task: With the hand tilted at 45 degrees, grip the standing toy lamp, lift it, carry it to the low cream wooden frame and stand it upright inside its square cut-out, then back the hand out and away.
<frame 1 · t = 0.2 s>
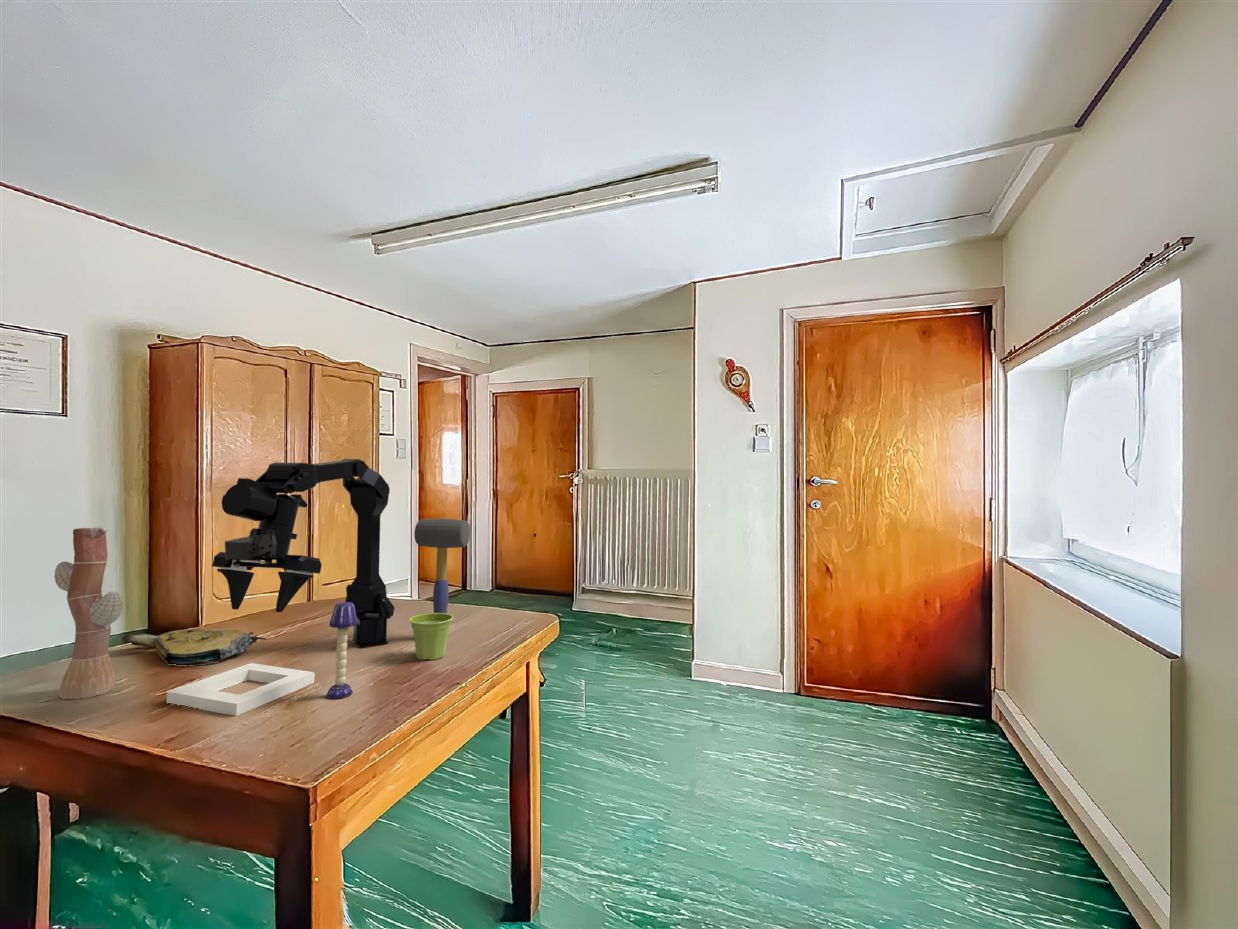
hand: (256, 610, 101), 15 cm above the table, tool pointing down, fingers open, 9 cm apart
plant pot: (430, 657, 125), on the table
vase: (83, 692, 101), on the table
toy lamp: (341, 695, 102), on the table
rubber mallet: (439, 638, 139), on the table
cutout frame: (244, 692, 102), on the table
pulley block: (186, 656, 123), on the table
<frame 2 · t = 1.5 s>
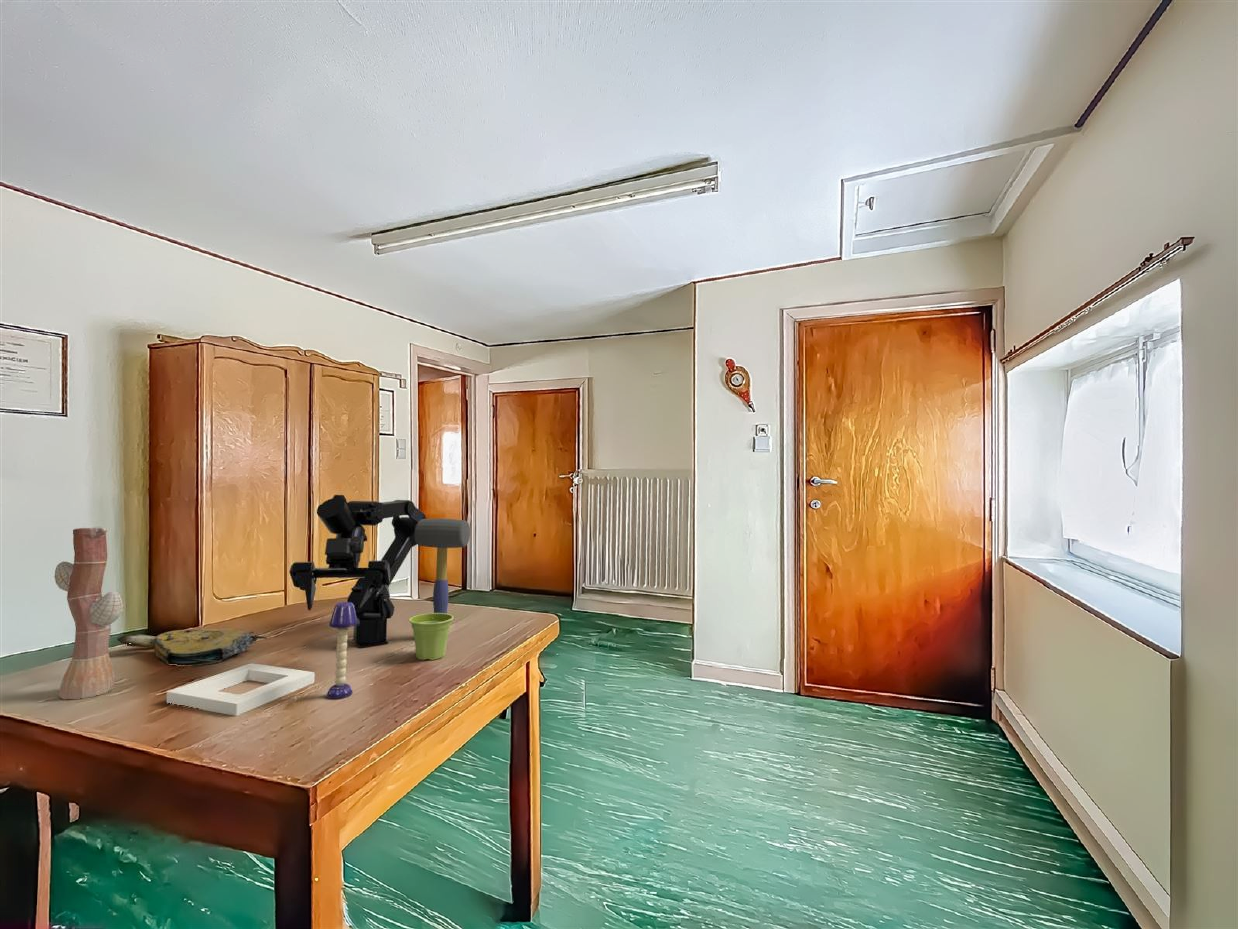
hand: (334, 608, 112), 14 cm above the table, tool tilted 45°, fingers open, 9 cm apart
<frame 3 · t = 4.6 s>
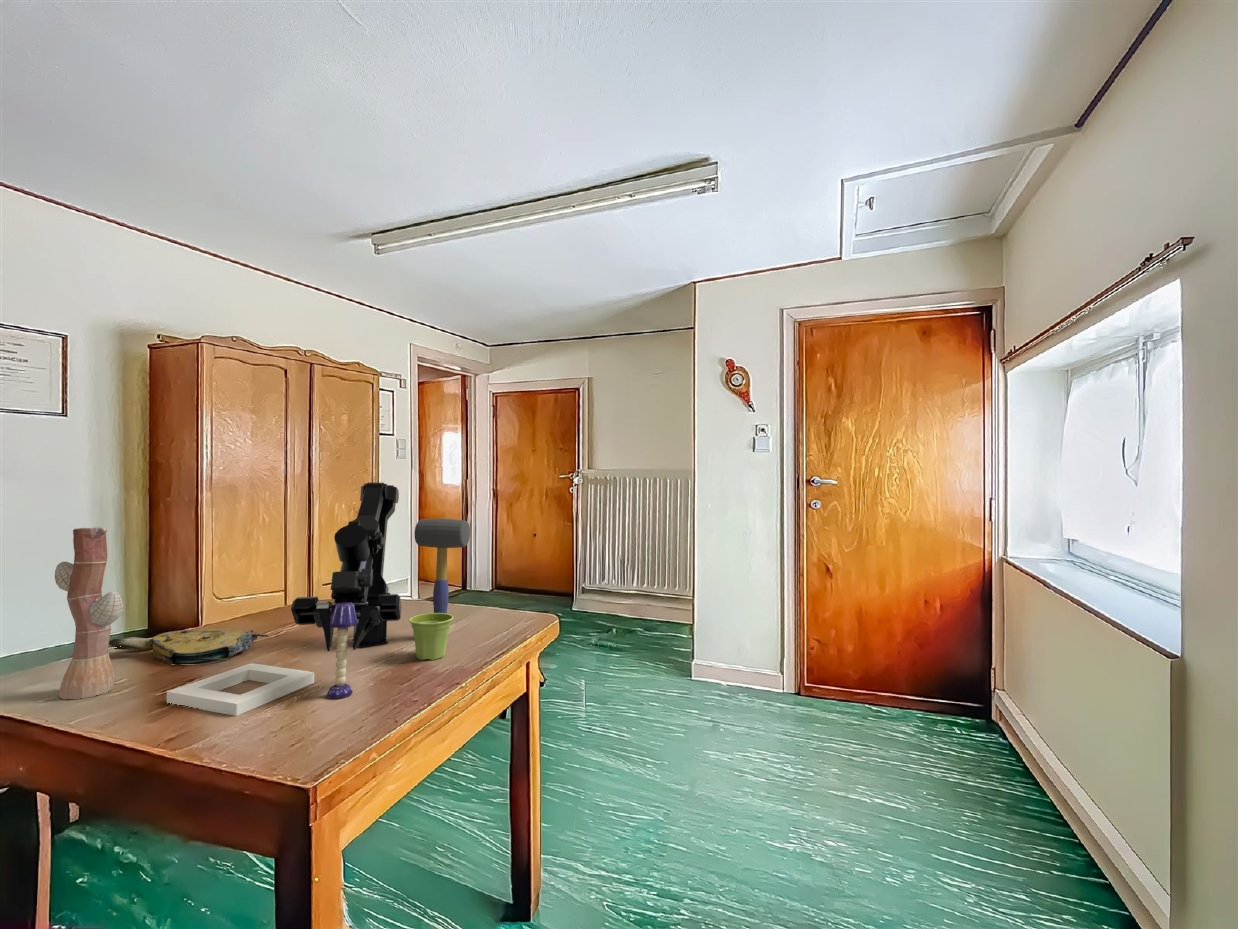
hand: (341, 649, 101), 9 cm above the table, tool tilted 45°, fingers closed on toy lamp, 4 cm apart
toy lamp: (341, 695, 102), on the table, touching gripper
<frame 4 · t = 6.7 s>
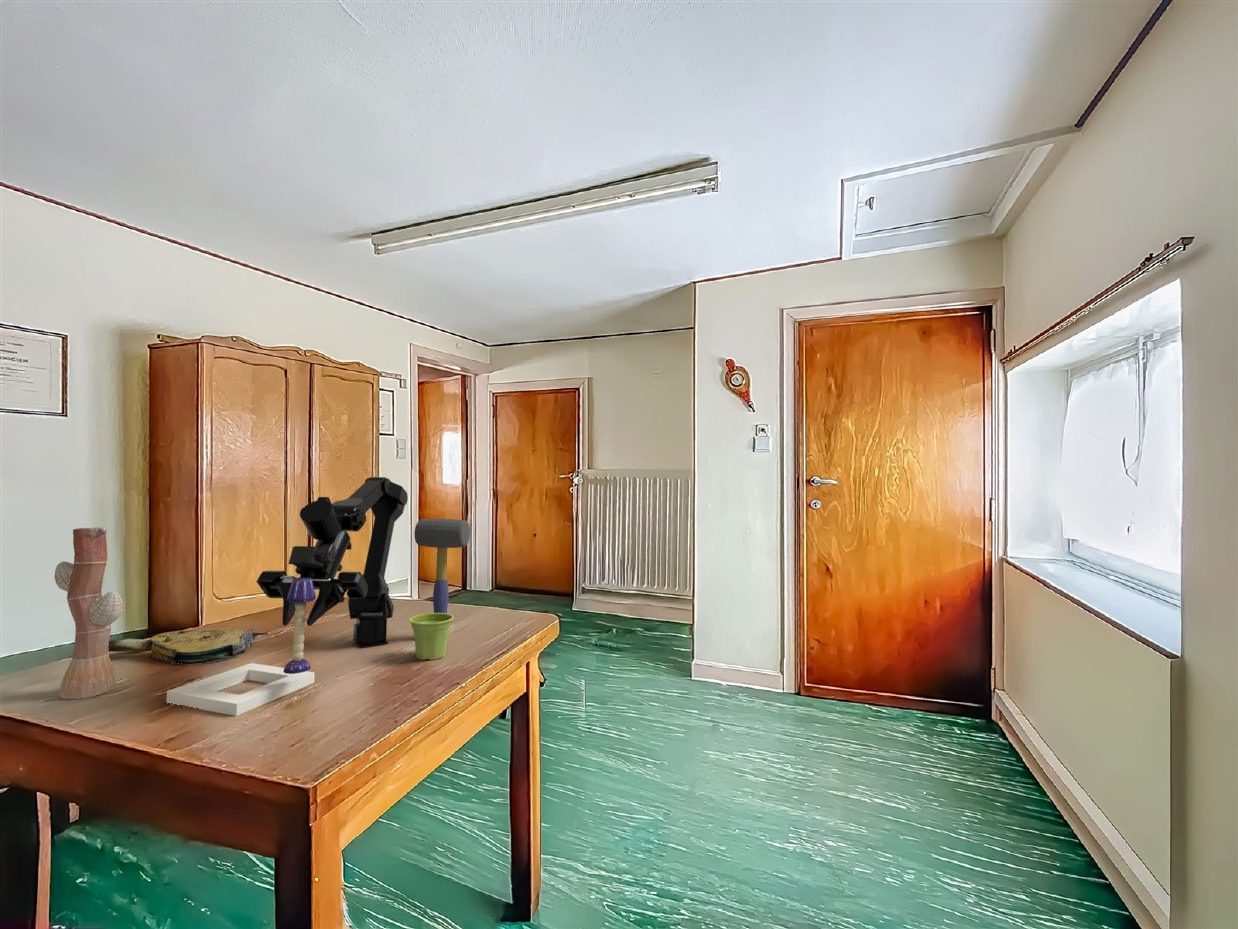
hand: (296, 624, 100), 13 cm above the table, tool tilted 45°, fingers closed on toy lamp, 4 cm apart
toy lamp: (298, 670, 101), point 4 cm above the table, touching gripper
when the fingers open (10 cm above the table, at t = 8.8 s): toy lamp stays where it is, resting in cutout frame.
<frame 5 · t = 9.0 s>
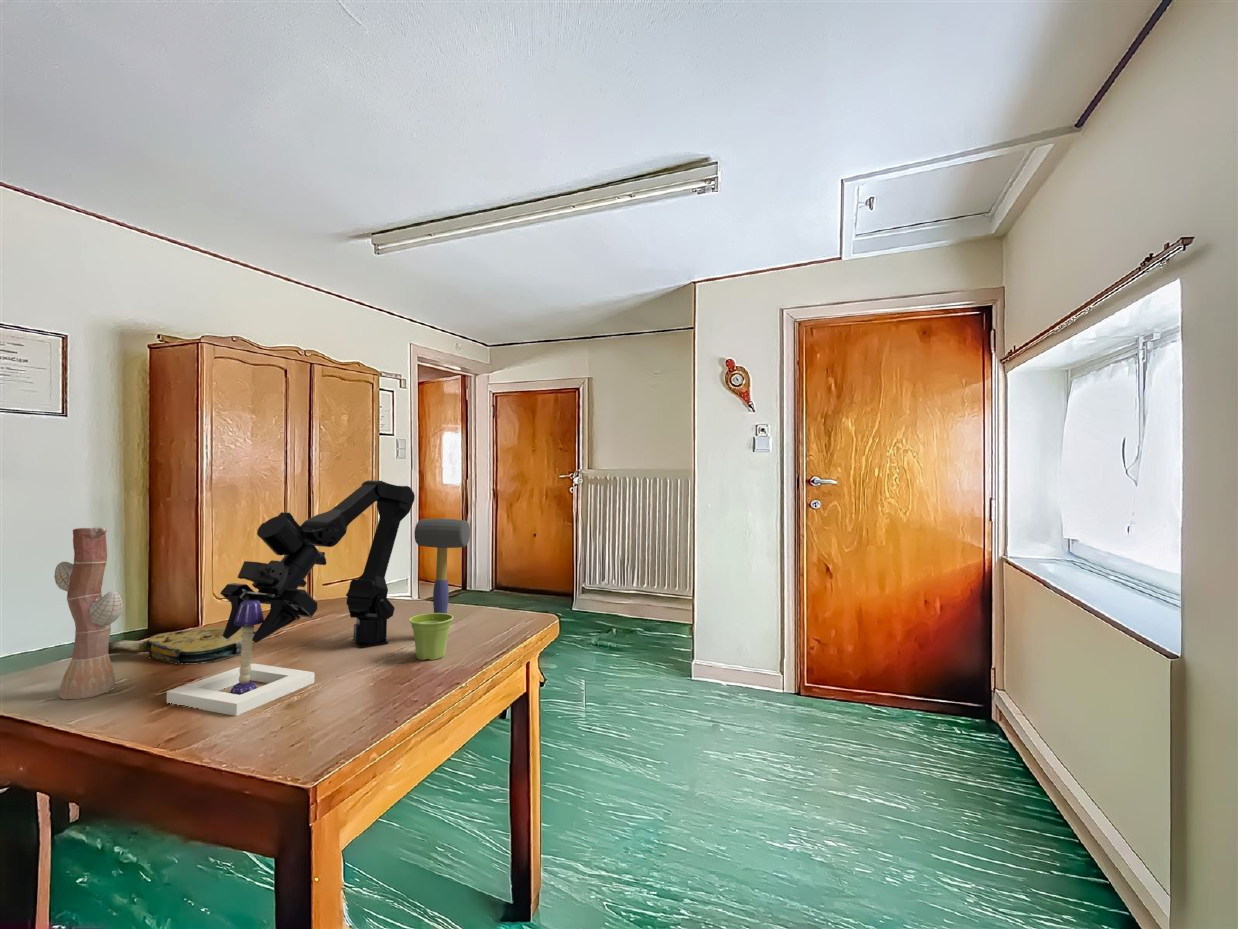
hand: (239, 639, 101), 10 cm above the table, tool tilted 45°, fingers open, 7 cm apart
toy lamp: (246, 693, 102), resting in cutout frame
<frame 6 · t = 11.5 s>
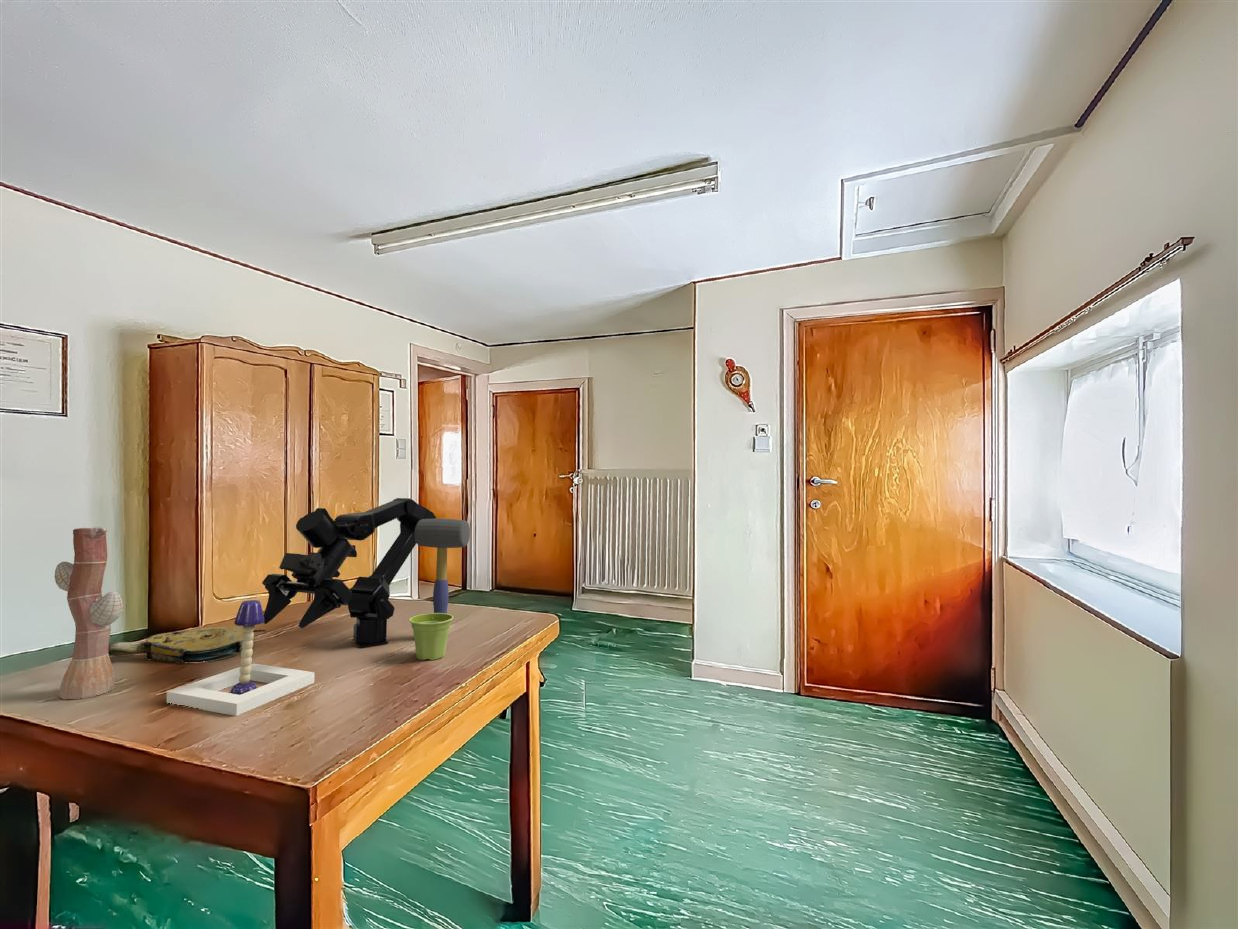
hand: (281, 625, 110), 11 cm above the table, tool tilted 45°, fingers open, 9 cm apart
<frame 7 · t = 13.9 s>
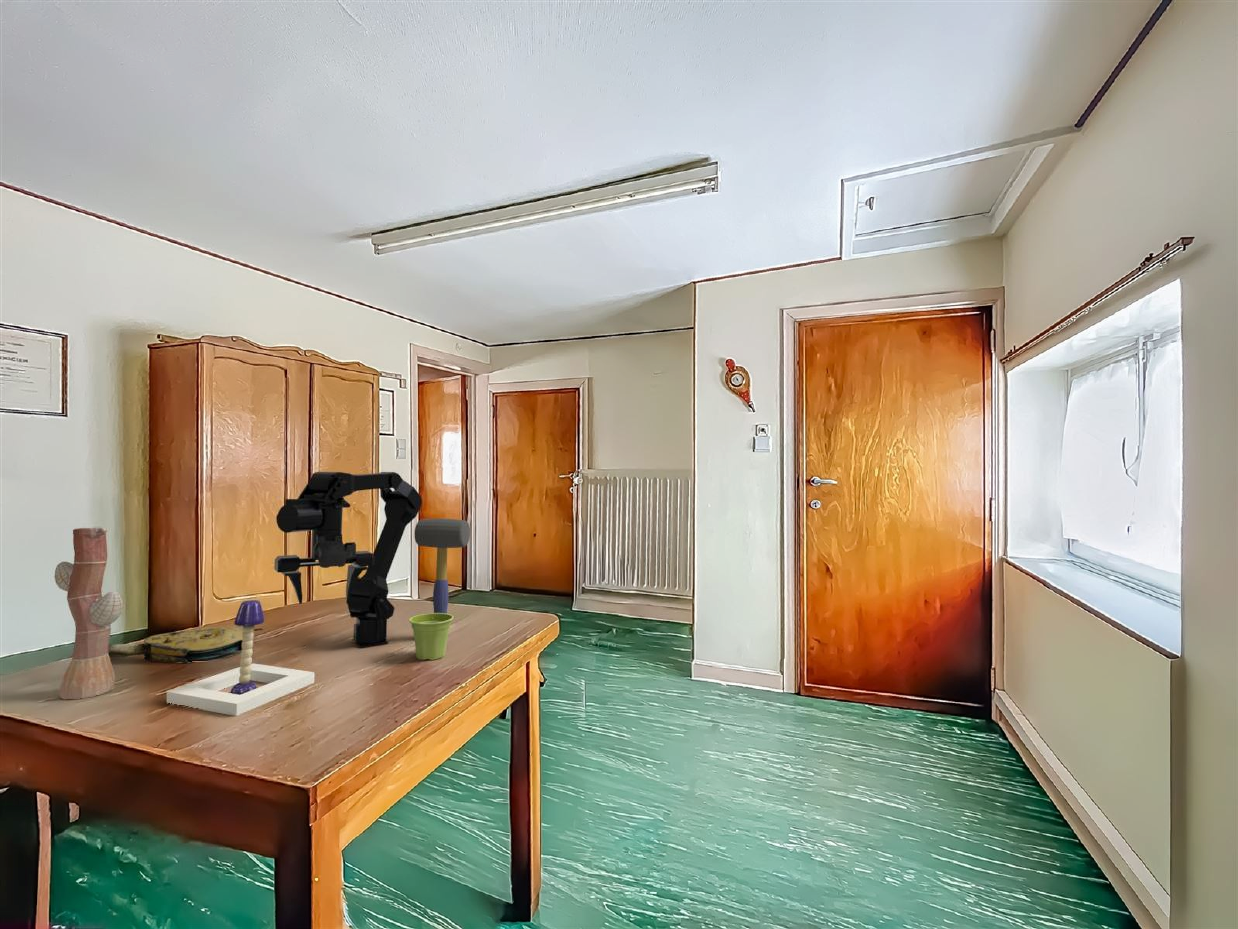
hand: (324, 600, 120), 13 cm above the table, tool pointing down, fingers open, 9 cm apart
at the end: toy lamp 0.3 cm off-centre on the cutout frame, point 0.0 cm above the cutout frame's base; toy lamp tilted 0°; the gripper is holding nothing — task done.
